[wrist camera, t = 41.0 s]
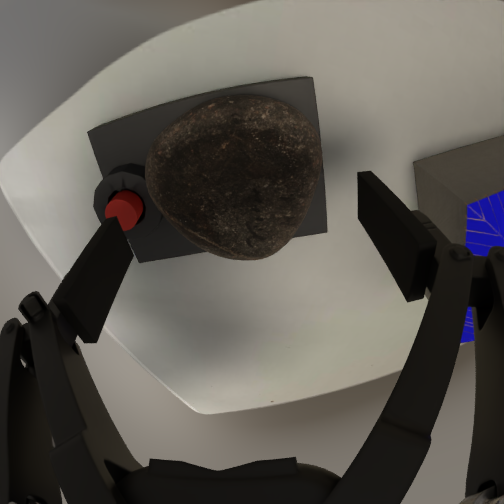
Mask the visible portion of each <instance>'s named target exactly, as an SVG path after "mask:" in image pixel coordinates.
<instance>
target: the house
mask: <svg viewBox="0 0 504 504" xmlns="http://www.w3.org/2000/svg"><path fill="white" fill-rule="evenodd" d="M413 165H414V172H415V179H416V187H417V196H418V206H419V211H420V212H421V213H423V214H425V215H426V216H427V217H428V218H429V219H430V220H431V221H432V223H434V224H435V225H436V226H437V228H439V229H440V231H441V232H442V233H443V234H444V235H445V236H446V237H447V238H448V239H449V241H450V242H451V243H456V244H461V245H463V246H466V247H467V248H468V249H470V250H471V252H472V253H473V256H487V255H488V252H489V249H490V248H491V247H493V246H501V247H504V136H500V137H496V138H493V139H489V140H486V141H482V142H479V143H475V144H472V145H468V146H465V147H461V148H458V149H455V150H451V151H448V152H445V153H441V154H438V155H435V156H431V157H428V158H425V159H422V160H419V161H415V162H413ZM425 295H426V297H427V299H428V300H429V298H430V295H431V293H430V292H429V290H428V289H427V287H426V291H425ZM470 341H474V328H473V318H472V309H471V307H468V308H467V313H466V319H465V324H464V329H463V333H462V338H461V342H460V343H464V342H470Z"/></svg>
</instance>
